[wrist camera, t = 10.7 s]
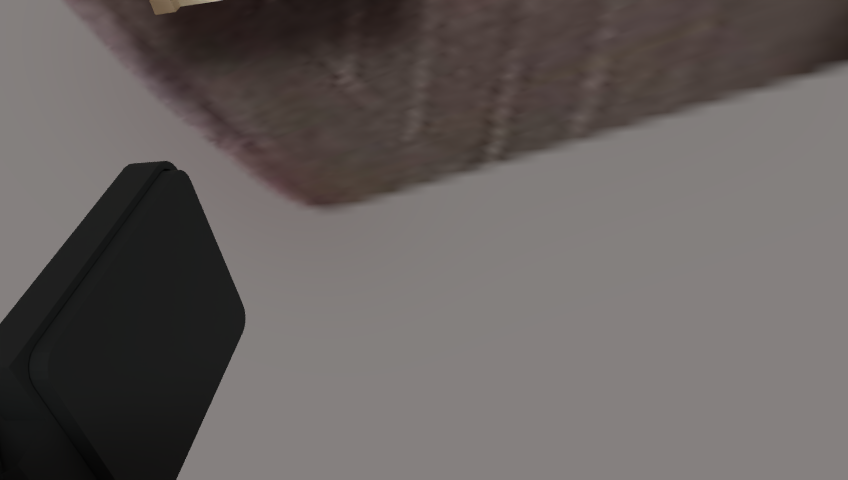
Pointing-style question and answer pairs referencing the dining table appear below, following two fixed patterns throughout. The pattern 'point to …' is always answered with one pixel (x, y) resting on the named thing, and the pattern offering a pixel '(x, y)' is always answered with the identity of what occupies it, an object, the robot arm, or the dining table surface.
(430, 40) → the dining table surface
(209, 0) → the beam
